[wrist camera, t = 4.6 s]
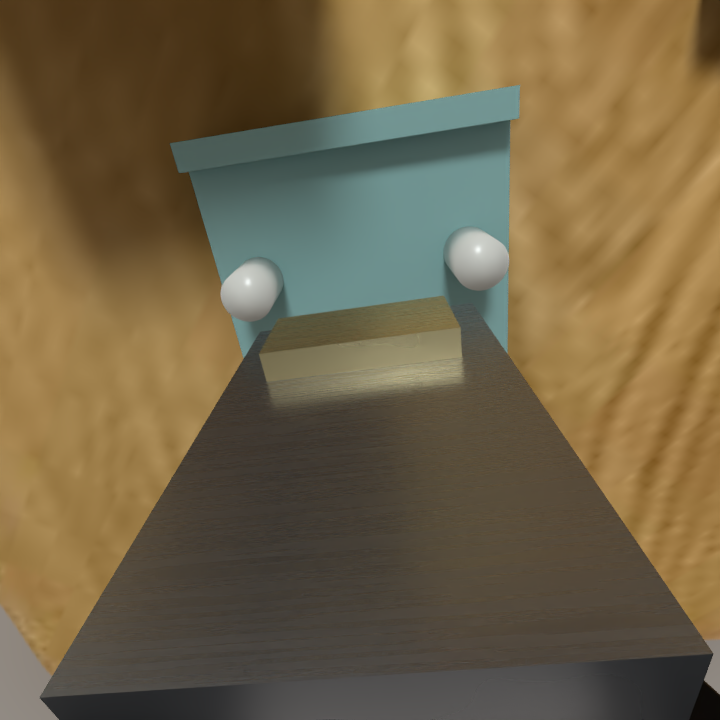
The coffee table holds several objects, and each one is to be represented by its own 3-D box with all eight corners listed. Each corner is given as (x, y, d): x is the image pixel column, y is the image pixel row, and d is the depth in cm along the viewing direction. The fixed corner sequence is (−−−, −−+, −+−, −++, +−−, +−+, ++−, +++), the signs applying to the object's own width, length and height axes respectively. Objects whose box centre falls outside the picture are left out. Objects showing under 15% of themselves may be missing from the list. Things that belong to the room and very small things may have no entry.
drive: (473, 278, 7) (735, 600, 2) (483, 611, 12) (583, 1009, 6) (252, 309, 8) (-2, 657, 2) (339, 622, 12) (315, 1008, 7)
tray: (500, 93, 13) (535, 77, 10) (499, 482, 20) (520, 533, 17) (192, 144, 14) (150, 142, 11) (294, 504, 21) (284, 556, 18)
